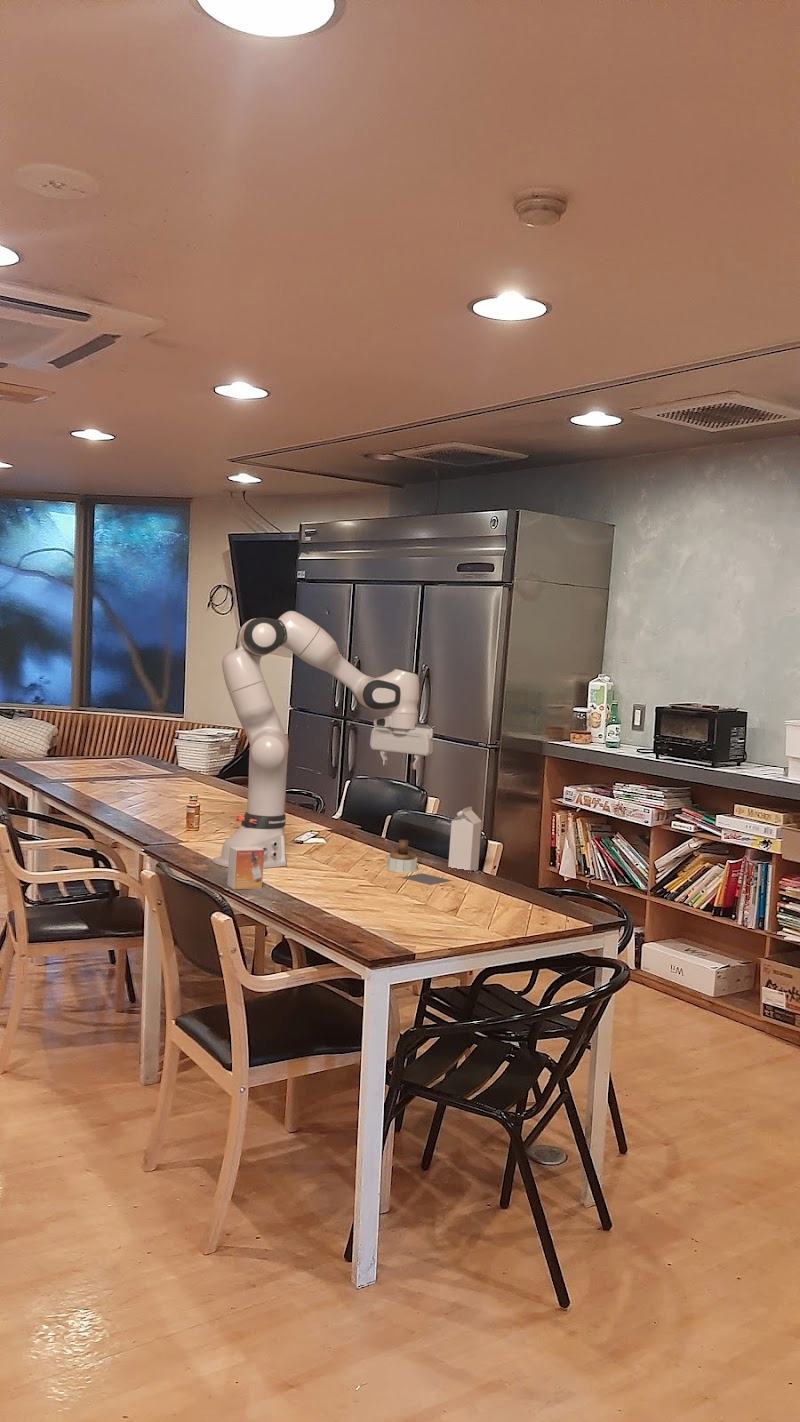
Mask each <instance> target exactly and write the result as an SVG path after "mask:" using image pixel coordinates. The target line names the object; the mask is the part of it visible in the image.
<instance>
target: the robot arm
mask: <svg viewBox="0 0 800 1422" xmlns="http://www.w3.org/2000/svg"><path fill="white" fill-rule="evenodd" d="M280 647H284V648H285V649H287V650H290V651H291V652H292V653H293V654H294V655H295V656H296V657H298V658H299V659H301V660H302V661H303V662H306V663H307V664H309V665H310V666H312V667H314V668H316V669H319V670H322V671H323V672H324V671H325V672H326V673H329V675H331V676H332V677H334V678H335V679H336V680H337V681H339V682H340V683H341V684H343V685H344V687H346V688H348V689H349V691H350V692H351V693H352V694H353V697H354V699H355V701H356V702H357V704H358V705H360V706H361V707H363V708H364V709H368V710H372V711H381V710H387V709H388V711H389V712H388V715H387V716H382V717H379V718H378V717H377V718H375V719H374V720H373V726H374V727H373V728H372V730H371V733H370V738H369V746H370V748H371V749H372V750H375V751H379V752H380V757H381V758H382V760H383V761H382V766H386V767H389V766H390V764H391V759H388V756H387V754H388V752H392V753H399V754H400V753H401V754H407V755H408V754H409V755H414V757H413V758H414V759H415V760H414V761H413V762H410V769H411V770H418V764H419V763H420V761H421V759H422V756H426V757H427V756H431V755H432V754H433V752H434V740H433V738H434V729H433V727H431V726H430V725H429V724H422V723H418V719H419V709H418V704H419V701H420V677H419V675H418V674H417V673H416V672H415V671H412V670H408V669H405V668H394V669H393V670H392V671H390V672H388V673H387V674H384V675H381V676H377V677H376V676H373V675H367V674H365V673H363V672H361V671H360V669H358V668H356V667H355V666H354V665H353V664H352V663H350V661H347V659H346V658H344V656H343V655H342V654H341V652H340V650H339V648H338V644H337V642H336V641H335V640H334V638H333V637H332V636H331V635H330V634H329V633H328V632H327V631H326V630H325V629H324V628H323V627H321V625H319V624H317V623H316V622H314V621H313V620H311V619H310V618H308V617H307V616H304V615H302V613H300V612H297V611H296V610H295V611H294V610H288V611H286V612H284V613H283V614H281V615H280V616H279V617H278V619H276V618H269V617H264V616H263V617H257V618H256V617H255V618H251V619H250V620H248V621H246V622H245V623H244V624H243V625H241V627H240V628H239V630H238V632H237V636H236V642H235V648H234V650H231V651H229V652H228V653H226V654H225V656H223V658H222V660H221V667H222V673H223V678H224V682H225V685H226V689H227V691H228V694H229V697H230V700H231V702H232V705H233V707H234V710H235V713H236V715H237V719H238V721H239V723H240V725H241V727H242V729H243V732H244V734H245V736H246V739H247V741H248V744H249V753H248V754H249V755H248V756H249V757H248V782H247V783H248V784H247V785H248V786H247V787H248V788H247V789H248V790H247V803H246V812H244V815H241V814H236V815H235V817H234V819H235V822H240V823H241V825H240V827H238V829H237V830H235V831H234V832H233V833H232V834H231V835H230V836H229V837H227V838H226V839H225V840H224V842H223V843H222V848H221V854H220V856H216V857H213V858H212V863H214V864H215V865H217V866H222V867H224V868H228V865H229V850H230V847H247V846H258V847H260V848H262V849H264V864H263V869H267V868H278V867H286V866H287V863H288V858H287V853H286V845H285V844H286V843H285V831H284V830H285V826H286V813H285V811H286V810H285V809H286V793H287V792H286V791H287V790H286V789H287V773H288V754H289V748H290V747H289V743H290V742H289V740H288V736H287V734H286V732H285V730H284V727H283V725H282V722H281V719H280V717H279V714H278V712H277V710H276V707H275V705H274V702H273V699H272V696H271V694H270V691H269V689H268V686H267V683H266V680H265V678H264V675H263V672H262V670H261V659H262V657H265V656H267V655H269V654H271V653H272V652H274V651H276V650H277V649H278V648H280Z"/></svg>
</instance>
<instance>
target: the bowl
mask: <svg viewBox="0 0 800 1422" xmlns="http://www.w3.org/2000/svg"><path fill="white" fill-rule="evenodd" d="M386 862H387V863H386V870H388V871H389V872H390V871H391V872H395V873H401V874H403V873H406V874H409V873H416V872H417V870H418V857H417V856H416V857H415V859H412V860H400V859H394V858H391V857H390V854H389V855H387V861H386Z"/></svg>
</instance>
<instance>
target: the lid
mask: <svg viewBox="0 0 800 1422" xmlns="http://www.w3.org/2000/svg"><path fill="white" fill-rule="evenodd" d="M408 850H409V840H408V839H399V840H398V850H395V851H389V855H390V857H391V858H394V859H400V860H412V859H415V857H417V856H416V853H414V852H411V851H408Z"/></svg>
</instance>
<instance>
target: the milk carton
mask: <svg viewBox="0 0 800 1422" xmlns="http://www.w3.org/2000/svg"><path fill="white" fill-rule="evenodd" d="M482 822H483V821H482V820H481V818H479V816H478V815H477V814H476V813H475V812H474V811H473V806H468V807H465V808H463V809H462V810H460V811H458V812H457V813H456V817H455V818H454V819H452V820H451V824H450V825H451V826H450V836H449V837H450V839H449V852H448V863H447V864H448V865H447V866H448V867H451V868H457V869H464V870H470V871H471V870H474V872H476V871H478V870H479V864H480V863H479V861H480V850H481V837H482V834H481V833H482ZM448 867H447V868H448Z"/></svg>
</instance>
